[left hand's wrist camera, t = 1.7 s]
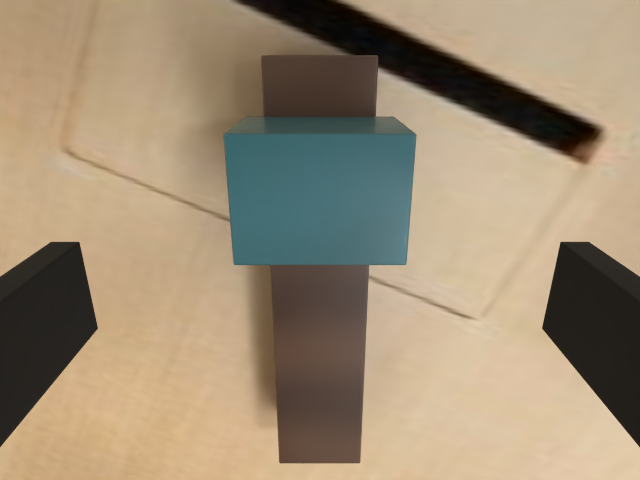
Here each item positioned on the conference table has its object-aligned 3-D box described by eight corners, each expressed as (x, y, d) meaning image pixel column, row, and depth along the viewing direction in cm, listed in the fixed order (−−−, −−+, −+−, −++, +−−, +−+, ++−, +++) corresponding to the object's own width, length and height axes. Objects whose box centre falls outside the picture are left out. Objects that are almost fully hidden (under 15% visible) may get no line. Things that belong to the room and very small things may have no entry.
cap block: (245, 116, 24) (222, 133, 19) (394, 116, 24) (417, 133, 19) (251, 222, 26) (233, 265, 21) (388, 222, 26) (406, 265, 21)
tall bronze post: (270, 56, 28) (260, 55, 23) (368, 56, 28) (378, 55, 23) (284, 414, 38) (279, 463, 34) (355, 414, 38) (360, 463, 34)
